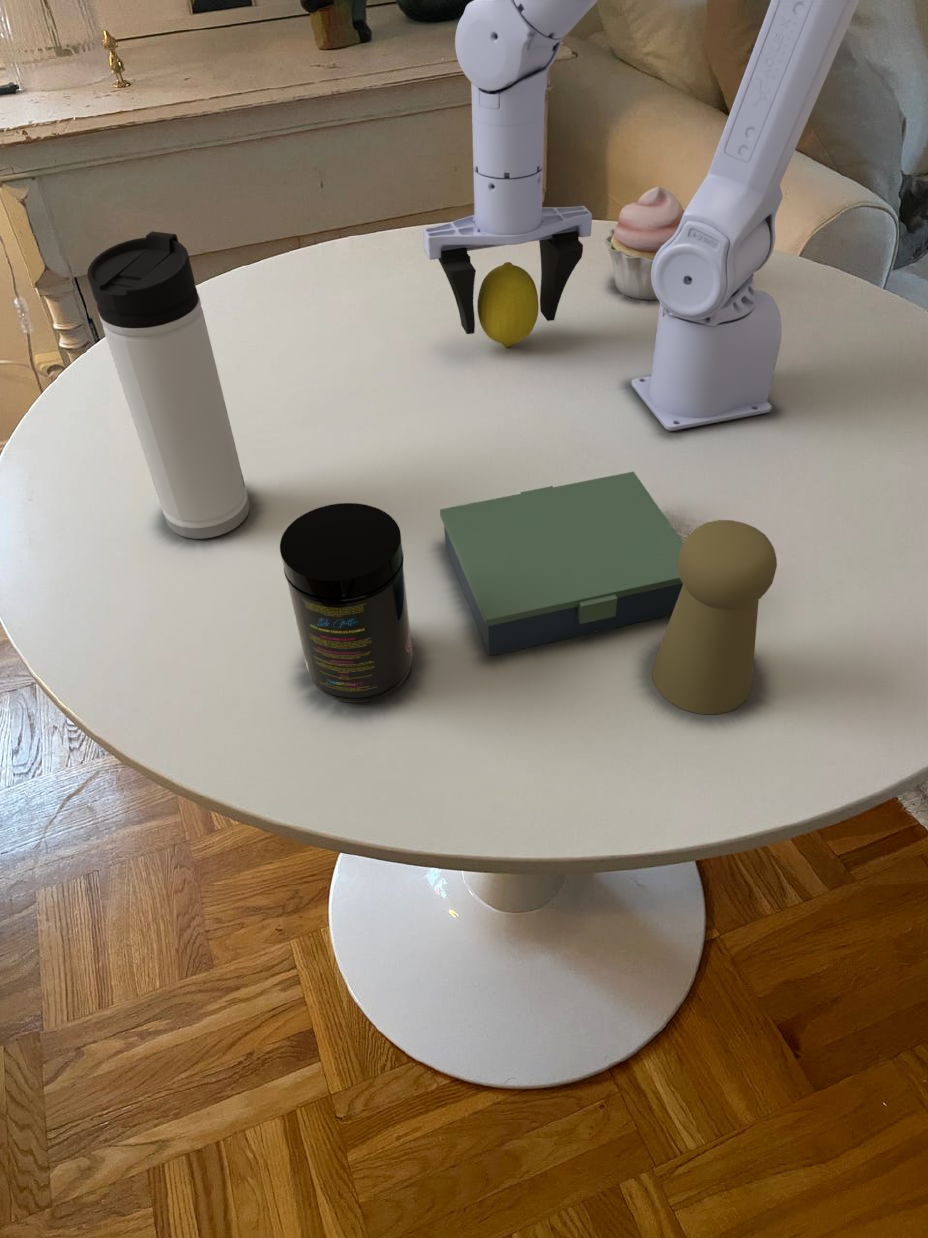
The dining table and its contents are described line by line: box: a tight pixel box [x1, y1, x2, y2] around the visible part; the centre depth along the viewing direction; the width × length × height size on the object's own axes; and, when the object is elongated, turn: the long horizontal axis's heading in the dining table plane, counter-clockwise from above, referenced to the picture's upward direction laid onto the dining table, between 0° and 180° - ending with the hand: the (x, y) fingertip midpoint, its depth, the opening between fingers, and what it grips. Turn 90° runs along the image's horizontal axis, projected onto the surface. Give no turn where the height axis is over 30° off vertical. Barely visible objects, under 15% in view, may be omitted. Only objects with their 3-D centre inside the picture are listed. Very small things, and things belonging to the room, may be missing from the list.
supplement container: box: [279, 502, 413, 703], centre depth 55 cm, size 7×7×10 cm
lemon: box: [476, 261, 540, 348], centre depth 84 cm, size 6×6×8 cm
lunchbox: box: [439, 471, 684, 656], centre depth 63 cm, size 14×12×4 cm
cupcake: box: [603, 186, 685, 300], centre depth 91 cm, size 9×9×10 cm
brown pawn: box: [651, 519, 778, 715], centre depth 53 cm, size 6×6×11 cm
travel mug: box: [86, 230, 251, 540], centre depth 63 cm, size 6×7×20 cm
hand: (507, 322), depth 85 cm, fingers open, 7 cm apart
